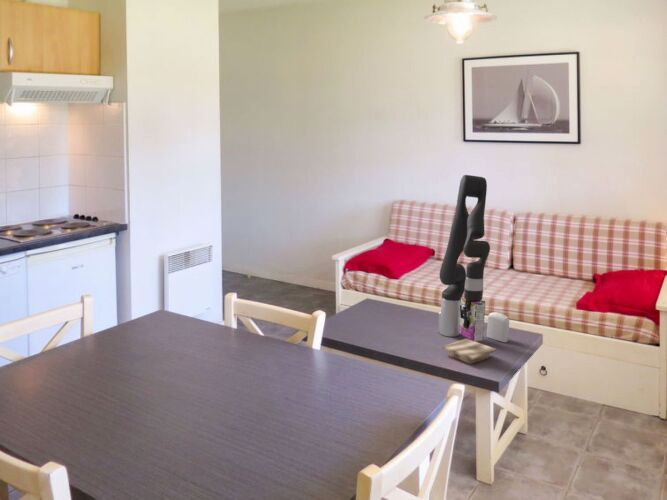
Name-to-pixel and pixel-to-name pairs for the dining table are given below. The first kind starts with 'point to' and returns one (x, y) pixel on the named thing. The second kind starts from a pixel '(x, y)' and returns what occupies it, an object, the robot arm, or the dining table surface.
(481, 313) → the candy bar box
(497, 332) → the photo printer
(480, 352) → the stand
